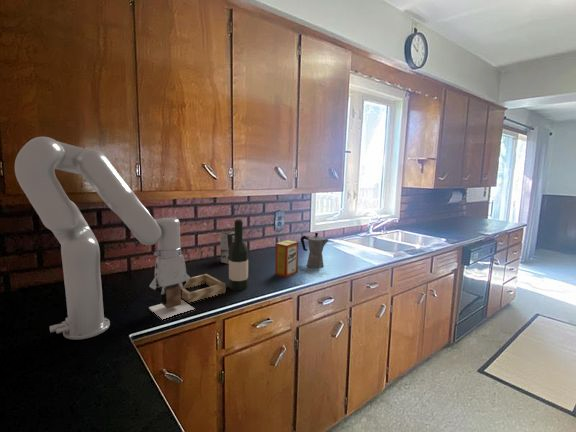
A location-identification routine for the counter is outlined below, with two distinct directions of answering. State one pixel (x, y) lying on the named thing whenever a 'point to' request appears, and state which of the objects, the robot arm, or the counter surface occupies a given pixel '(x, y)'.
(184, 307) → the stone pad
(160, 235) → the robot arm
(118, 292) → the counter surface
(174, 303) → the walnut block
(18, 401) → the counter surface
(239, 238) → the wine bottle
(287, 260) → the baking soda box
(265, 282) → the counter surface
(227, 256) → the coffee box
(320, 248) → the coffeepot
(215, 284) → the oak frame
